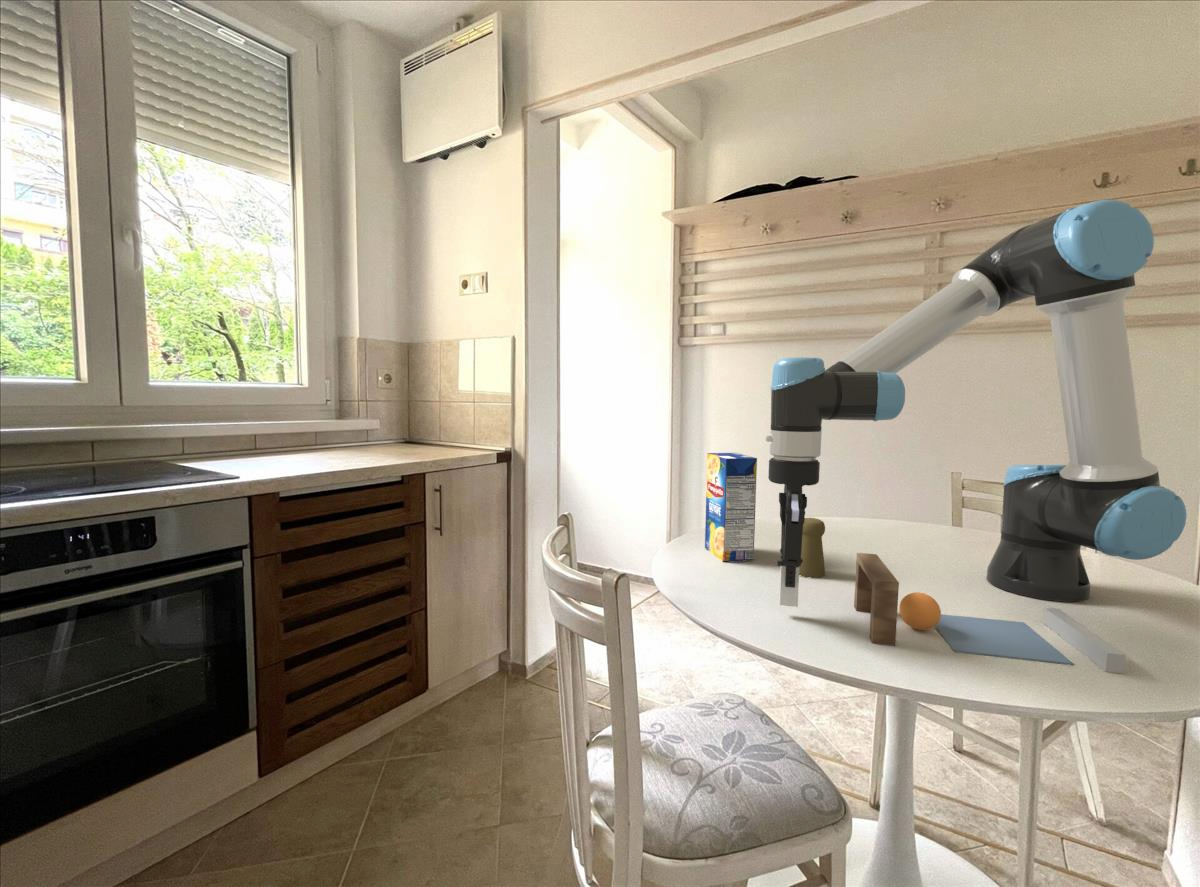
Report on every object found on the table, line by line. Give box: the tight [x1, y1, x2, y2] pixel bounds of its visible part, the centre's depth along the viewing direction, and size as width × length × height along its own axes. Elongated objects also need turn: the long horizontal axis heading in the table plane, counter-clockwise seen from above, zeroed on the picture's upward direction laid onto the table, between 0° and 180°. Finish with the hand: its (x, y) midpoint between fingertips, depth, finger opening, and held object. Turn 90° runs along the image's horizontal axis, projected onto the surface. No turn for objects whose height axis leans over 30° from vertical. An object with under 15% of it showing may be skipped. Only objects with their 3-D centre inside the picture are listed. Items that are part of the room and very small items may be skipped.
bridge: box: [853, 552, 900, 647], centre depth 87 cm, size 3×14×9 cm, turn 165°
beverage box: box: [704, 452, 758, 562], centre depth 124 cm, size 7×11×22 cm, turn 10°
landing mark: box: [934, 613, 1075, 666], centre depth 83 cm, size 14×14×1 cm
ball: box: [898, 591, 942, 631], centre depth 85 cm, size 6×6×6 cm
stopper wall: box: [1042, 607, 1127, 674], centre depth 80 cm, size 2×16×2 cm, turn 165°
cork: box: [799, 517, 826, 579], centre depth 111 cm, size 6×6×11 cm
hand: (788, 604), depth 90 cm, fingers closed
